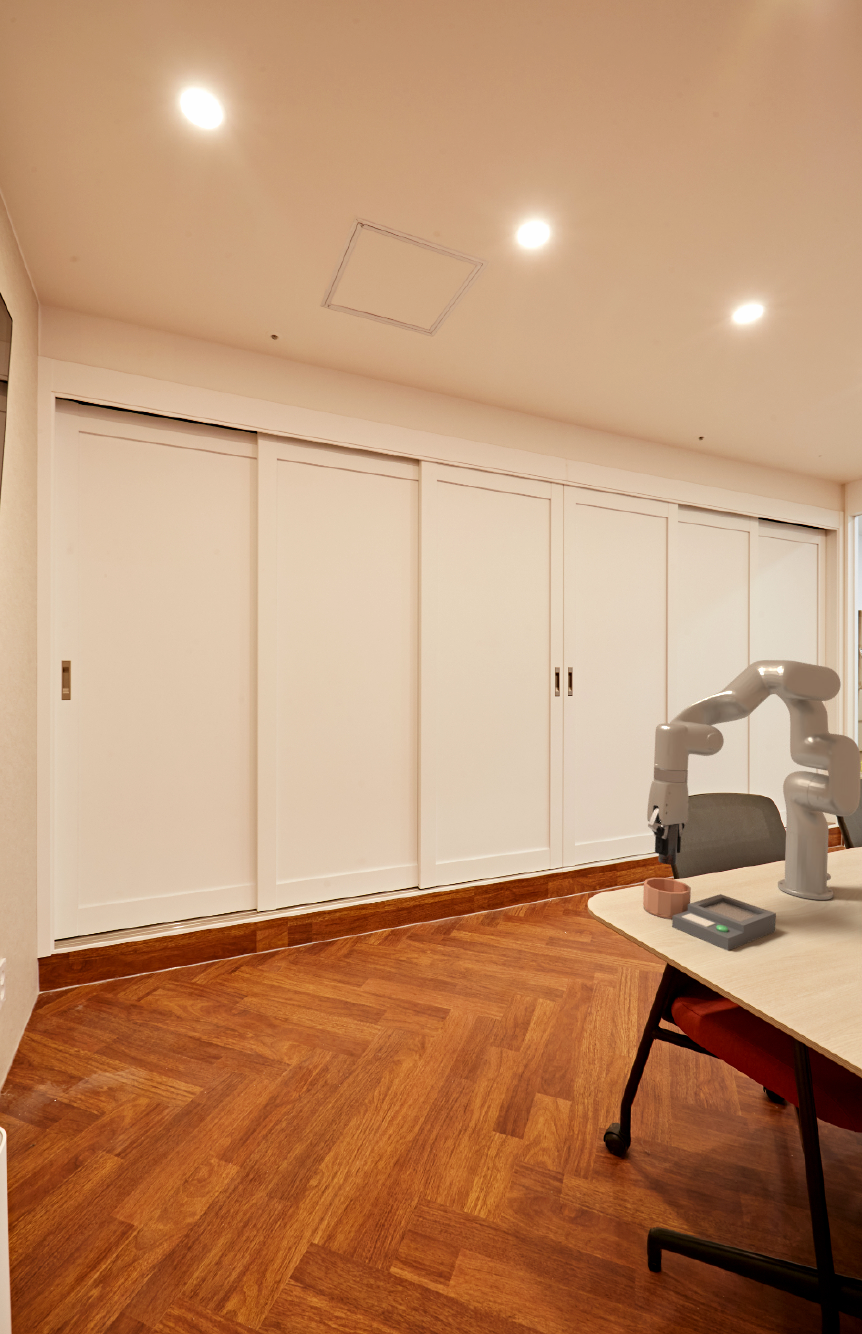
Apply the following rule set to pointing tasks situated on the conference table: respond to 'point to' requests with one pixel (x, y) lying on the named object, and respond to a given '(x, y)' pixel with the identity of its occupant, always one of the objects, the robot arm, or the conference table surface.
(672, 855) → the battery
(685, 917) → the grey button console
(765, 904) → the conference table surface
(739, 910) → the pad
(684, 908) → the cup
